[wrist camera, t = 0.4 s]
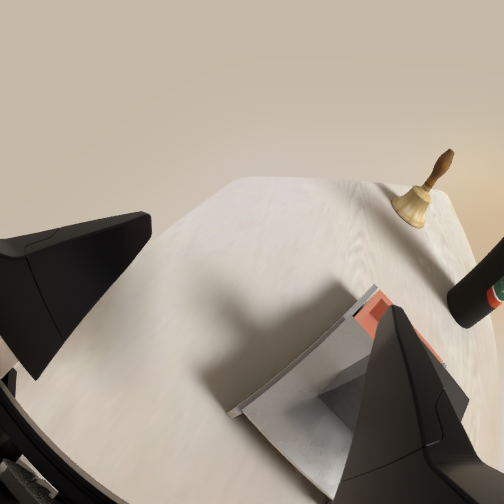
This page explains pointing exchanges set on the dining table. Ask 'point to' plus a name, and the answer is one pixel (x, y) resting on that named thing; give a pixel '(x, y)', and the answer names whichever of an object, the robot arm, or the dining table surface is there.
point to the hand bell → (421, 194)
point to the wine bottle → (479, 289)
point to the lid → (326, 405)
